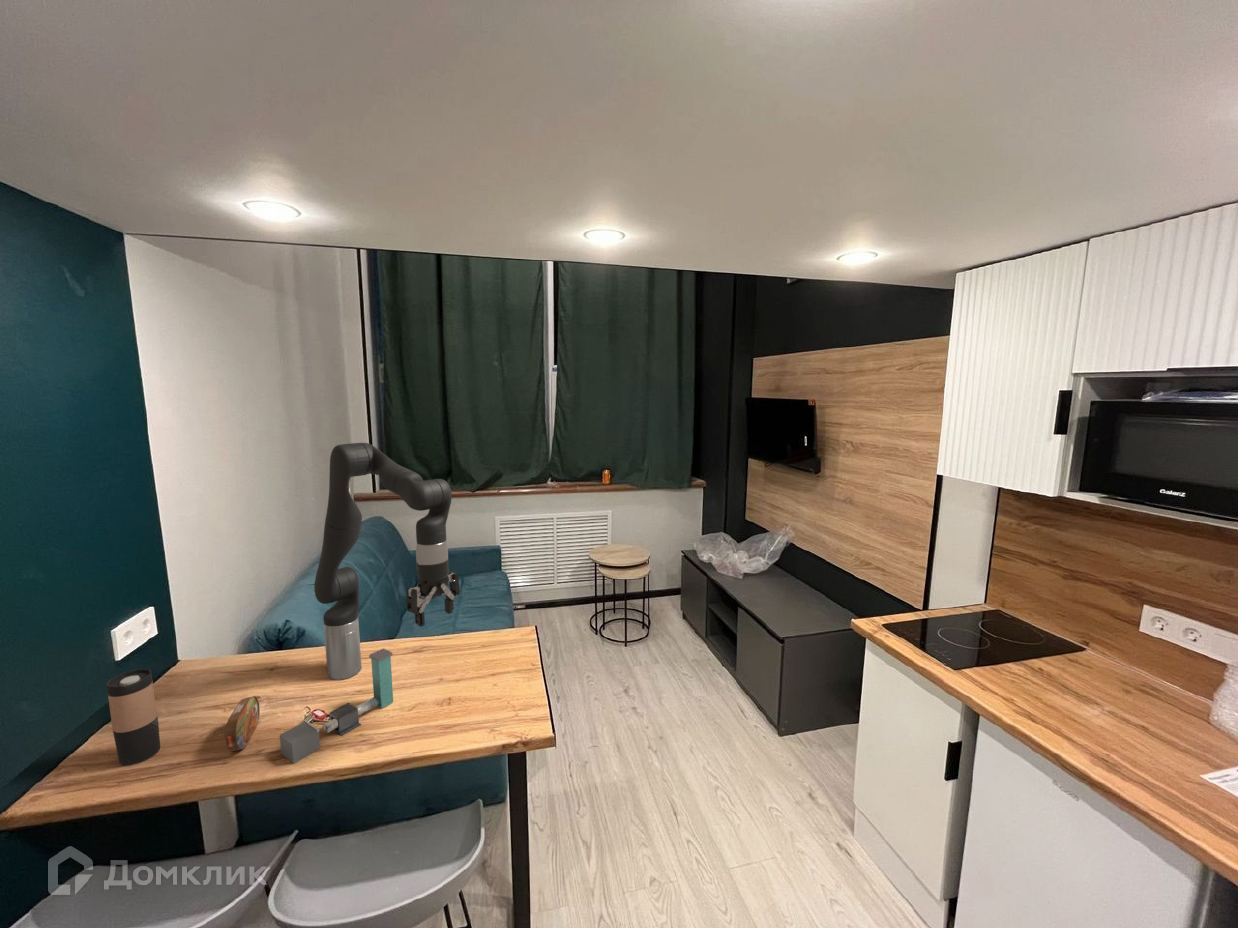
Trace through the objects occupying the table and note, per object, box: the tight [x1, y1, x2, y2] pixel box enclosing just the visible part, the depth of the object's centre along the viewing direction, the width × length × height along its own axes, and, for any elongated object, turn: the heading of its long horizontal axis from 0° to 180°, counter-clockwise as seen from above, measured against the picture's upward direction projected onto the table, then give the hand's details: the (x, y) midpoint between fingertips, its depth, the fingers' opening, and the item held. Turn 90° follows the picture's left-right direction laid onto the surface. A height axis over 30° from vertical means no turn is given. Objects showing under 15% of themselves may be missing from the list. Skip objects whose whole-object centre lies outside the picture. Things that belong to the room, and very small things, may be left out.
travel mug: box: [106, 668, 161, 766], centre depth 116 cm, size 8×8×20 cm
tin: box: [224, 695, 261, 752], centre depth 123 cm, size 15×3×8 cm, turn 20°
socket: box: [279, 719, 321, 764], centre depth 119 cm, size 6×6×5 cm
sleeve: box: [329, 702, 362, 737], centre depth 128 cm, size 6×5×4 cm
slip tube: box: [322, 648, 394, 734], centre depth 131 cm, size 4×18×15 cm, turn 148°
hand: (435, 618), depth 126 cm, fingers open, 8 cm apart
